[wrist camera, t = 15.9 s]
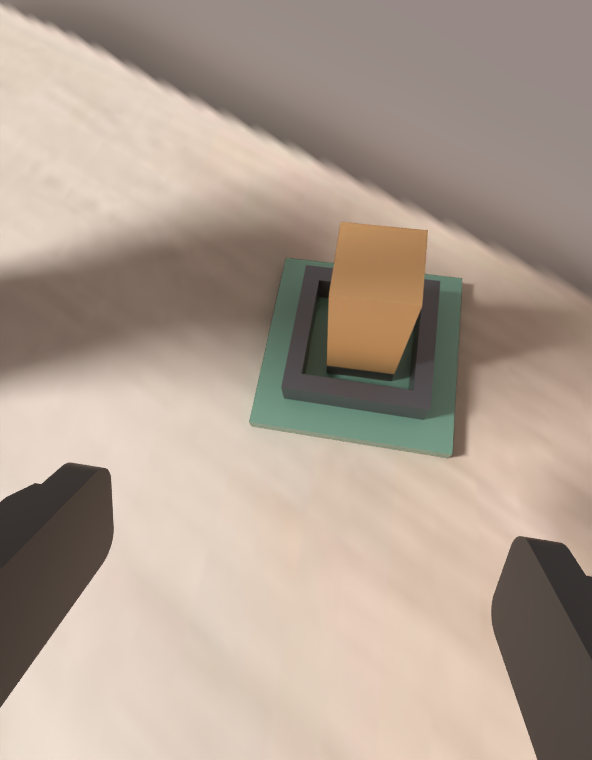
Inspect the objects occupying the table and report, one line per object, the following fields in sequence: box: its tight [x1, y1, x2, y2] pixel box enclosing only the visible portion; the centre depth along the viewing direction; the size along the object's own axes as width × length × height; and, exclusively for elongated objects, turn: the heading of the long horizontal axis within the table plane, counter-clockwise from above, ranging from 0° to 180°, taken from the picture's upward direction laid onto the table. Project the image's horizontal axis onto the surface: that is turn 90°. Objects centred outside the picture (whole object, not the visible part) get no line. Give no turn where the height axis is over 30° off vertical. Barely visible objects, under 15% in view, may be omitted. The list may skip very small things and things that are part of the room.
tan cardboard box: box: [327, 222, 428, 381], centre depth 24 cm, size 4×4×9 cm
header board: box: [249, 258, 462, 458], centre depth 28 cm, size 12×12×3 cm
